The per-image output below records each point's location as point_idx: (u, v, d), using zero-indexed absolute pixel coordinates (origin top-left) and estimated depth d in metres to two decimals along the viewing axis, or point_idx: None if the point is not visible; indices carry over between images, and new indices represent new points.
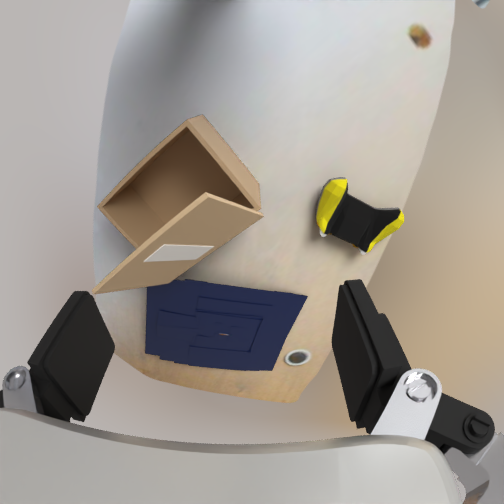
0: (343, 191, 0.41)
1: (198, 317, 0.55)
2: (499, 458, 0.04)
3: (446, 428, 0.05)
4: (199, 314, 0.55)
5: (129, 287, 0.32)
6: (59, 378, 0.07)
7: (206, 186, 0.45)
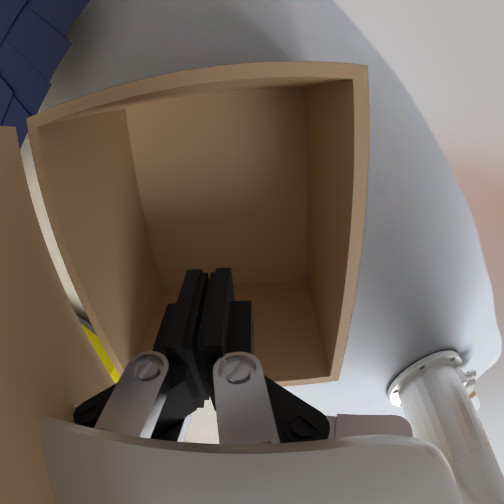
0: None
1: None
2: None
3: None
4: None
5: None
6: (195, 359, 0.08)
7: (196, 223, 0.23)
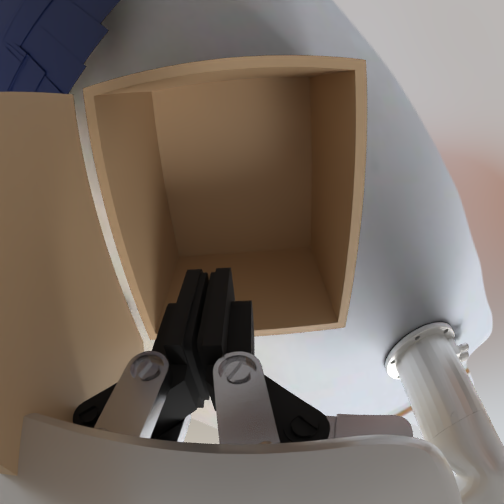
0: None
1: (16, 52, 0.15)
2: None
3: None
4: (19, 57, 0.15)
5: None
6: (195, 359, 0.08)
7: (213, 194, 0.25)
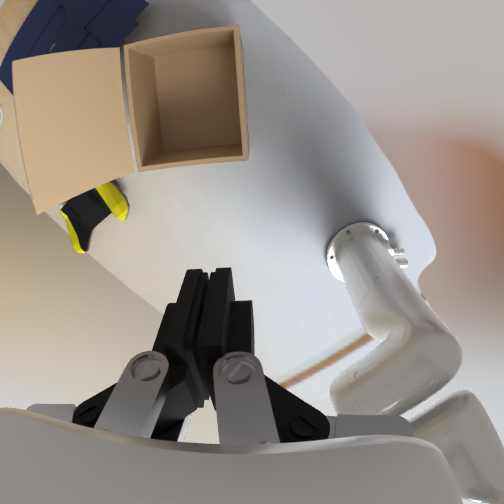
0: (115, 215, 0.44)
1: (81, 31, 0.30)
2: None
3: None
4: (83, 33, 0.30)
5: (55, 59, 0.20)
6: (195, 359, 0.08)
7: (185, 111, 0.40)
